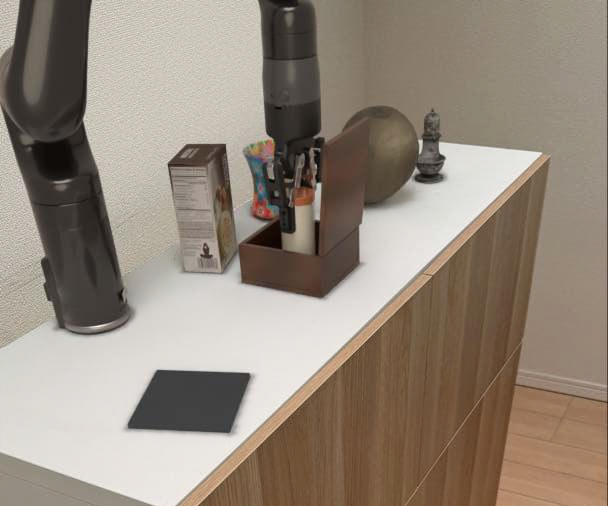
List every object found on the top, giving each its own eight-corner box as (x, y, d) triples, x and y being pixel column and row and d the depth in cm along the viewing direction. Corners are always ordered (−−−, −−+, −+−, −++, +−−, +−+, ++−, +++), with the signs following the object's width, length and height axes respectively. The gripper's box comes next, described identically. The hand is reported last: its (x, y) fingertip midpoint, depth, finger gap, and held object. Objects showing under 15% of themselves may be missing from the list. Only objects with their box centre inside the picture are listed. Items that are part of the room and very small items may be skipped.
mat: (128, 428, 89) (127, 423, 89) (157, 373, 98) (156, 369, 97) (229, 432, 87) (229, 428, 87) (250, 376, 96) (249, 372, 95)
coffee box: (201, 248, 126) (186, 142, 115) (238, 249, 125) (227, 142, 114) (183, 272, 119) (166, 162, 108) (223, 274, 118) (209, 162, 107)
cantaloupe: (340, 219, 132) (339, 123, 122) (332, 190, 142) (330, 100, 132) (422, 212, 132) (428, 116, 122) (408, 185, 143) (412, 94, 133)
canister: (279, 269, 114) (275, 198, 107) (285, 254, 118) (281, 185, 111) (314, 269, 114) (312, 199, 107) (318, 255, 117) (317, 186, 111)
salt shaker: (408, 175, 146) (410, 105, 138) (436, 171, 147) (441, 101, 139) (420, 185, 142) (424, 113, 134) (449, 180, 143) (455, 109, 135)
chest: (241, 282, 116) (237, 244, 112) (282, 250, 124) (280, 213, 120) (322, 298, 111) (320, 258, 107) (359, 264, 119) (359, 226, 115)
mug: (240, 221, 134) (234, 155, 126) (259, 201, 140) (254, 138, 133) (306, 226, 131) (303, 159, 123) (322, 206, 137) (320, 141, 130)
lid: (322, 143, 96) (328, 145, 96) (365, 116, 104) (370, 117, 104) (318, 255, 106) (323, 256, 106) (357, 222, 114) (362, 223, 114)
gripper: (293, 79, 107) (298, 205, 118) (238, 105, 97) (250, 239, 109) (342, 83, 104) (342, 212, 115) (290, 111, 95) (296, 247, 106)
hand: (297, 224), depth 112 cm, fingers closed on canister, 5 cm apart
